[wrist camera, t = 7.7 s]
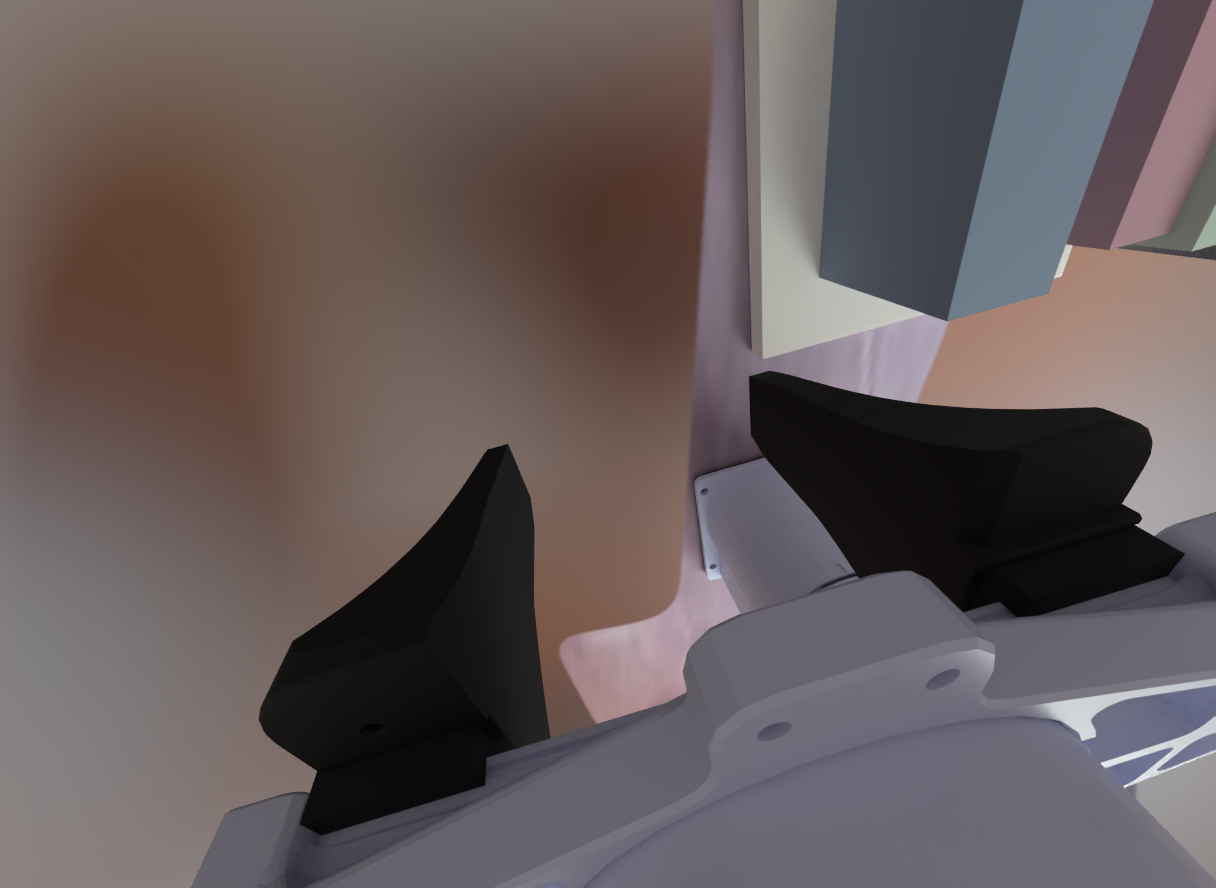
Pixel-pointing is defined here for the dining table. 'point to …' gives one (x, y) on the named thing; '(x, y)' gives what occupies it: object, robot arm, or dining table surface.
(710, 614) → the dining table surface
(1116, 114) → the books
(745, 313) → the dining table surface
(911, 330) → the dining table surface
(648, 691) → the dining table surface
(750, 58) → the shelf board
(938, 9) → the slate book
